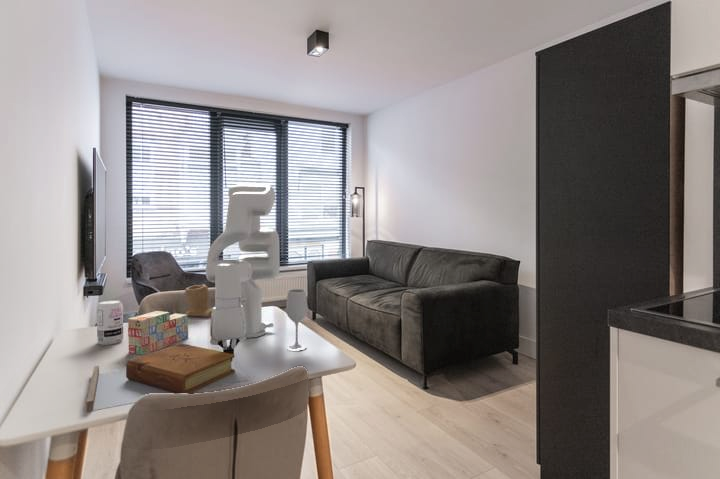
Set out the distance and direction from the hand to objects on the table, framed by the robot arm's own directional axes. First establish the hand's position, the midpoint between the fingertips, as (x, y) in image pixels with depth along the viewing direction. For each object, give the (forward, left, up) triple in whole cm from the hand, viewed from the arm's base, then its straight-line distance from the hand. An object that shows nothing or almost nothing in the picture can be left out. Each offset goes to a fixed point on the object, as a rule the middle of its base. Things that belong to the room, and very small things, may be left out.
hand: (228, 360), depth 124 cm
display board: (+17, 0, -2) cm, 17 cm away
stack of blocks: (+17, -34, -3) cm, 38 cm away
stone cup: (-3, -73, -2) cm, 73 cm away
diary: (+14, +1, -2) cm, 14 cm away
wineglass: (-25, -7, -2) cm, 26 cm away
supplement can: (+33, -47, -2) cm, 57 cm away
